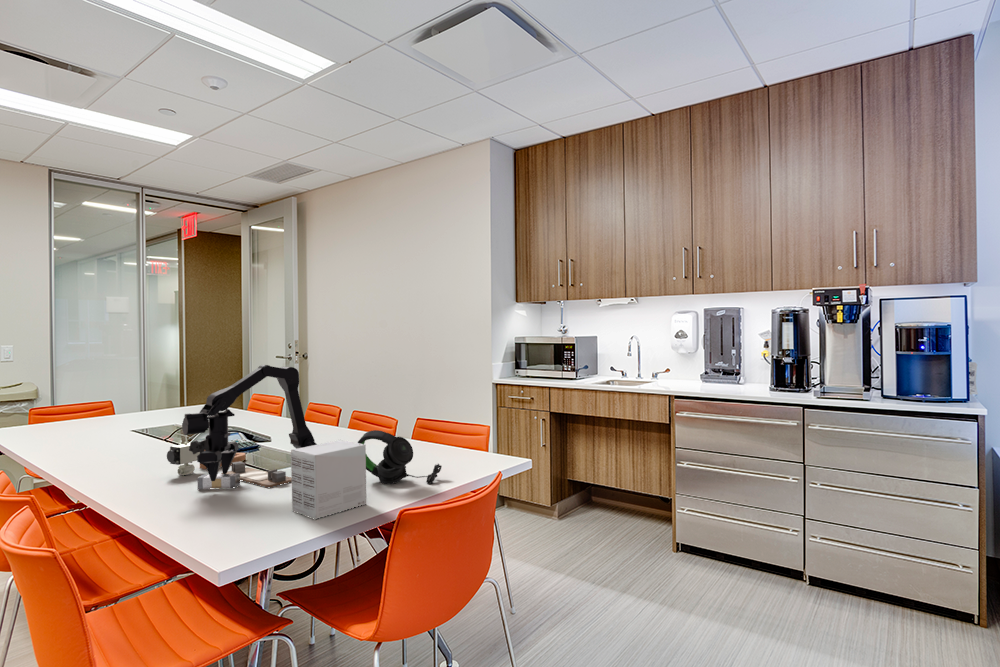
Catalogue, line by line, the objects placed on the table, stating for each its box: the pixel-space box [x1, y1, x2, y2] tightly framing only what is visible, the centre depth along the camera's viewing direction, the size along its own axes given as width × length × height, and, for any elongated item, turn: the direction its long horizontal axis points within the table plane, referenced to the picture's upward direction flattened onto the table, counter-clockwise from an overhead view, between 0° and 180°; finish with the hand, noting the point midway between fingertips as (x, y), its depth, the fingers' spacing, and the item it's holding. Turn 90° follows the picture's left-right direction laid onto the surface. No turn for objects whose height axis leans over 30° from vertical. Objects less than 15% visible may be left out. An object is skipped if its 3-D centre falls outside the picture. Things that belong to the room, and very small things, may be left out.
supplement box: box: [290, 439, 367, 520], centre depth 159 cm, size 17×13×18 cm
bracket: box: [199, 450, 247, 470], centre depth 216 cm, size 18×8×7 cm, turn 152°
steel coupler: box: [196, 473, 241, 490], centre depth 182 cm, size 12×4×4 cm, turn 95°
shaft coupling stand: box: [220, 461, 292, 488], centre depth 193 cm, size 30×10×4 cm, turn 55°
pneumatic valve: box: [166, 441, 204, 476], centre depth 200 cm, size 6×12×12 cm, turn 155°
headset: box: [357, 429, 442, 485], centre depth 186 cm, size 18×14×29 cm
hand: (219, 477), depth 182 cm, fingers open, 9 cm apart
